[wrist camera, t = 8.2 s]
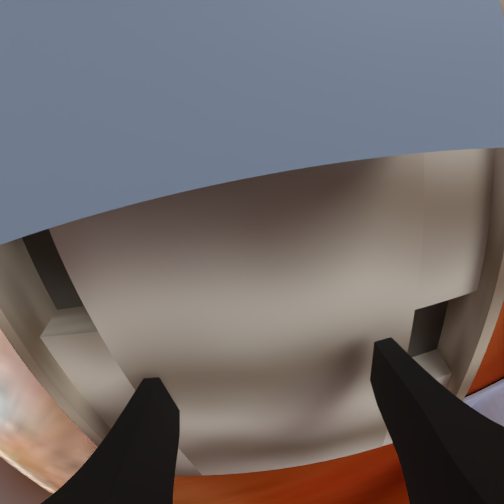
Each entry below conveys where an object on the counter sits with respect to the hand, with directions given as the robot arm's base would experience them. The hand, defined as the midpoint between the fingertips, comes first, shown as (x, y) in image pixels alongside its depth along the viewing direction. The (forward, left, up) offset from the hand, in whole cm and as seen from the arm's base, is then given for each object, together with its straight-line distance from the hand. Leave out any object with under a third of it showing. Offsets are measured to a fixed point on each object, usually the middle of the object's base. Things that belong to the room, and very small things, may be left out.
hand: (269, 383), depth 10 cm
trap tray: (+2, 0, -3) cm, 4 cm away
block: (+10, 0, -1) cm, 10 cm away
